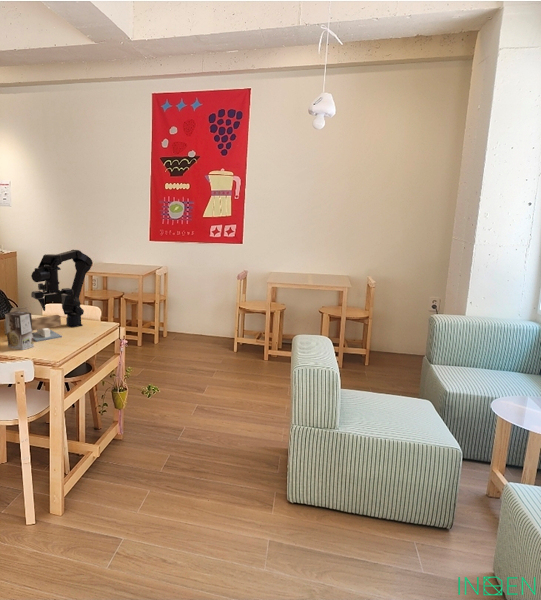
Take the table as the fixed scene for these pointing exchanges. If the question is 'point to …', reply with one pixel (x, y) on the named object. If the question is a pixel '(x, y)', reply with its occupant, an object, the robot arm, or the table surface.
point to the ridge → (45, 335)
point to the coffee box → (19, 330)
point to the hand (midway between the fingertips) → (53, 309)
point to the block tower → (21, 309)
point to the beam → (46, 322)
